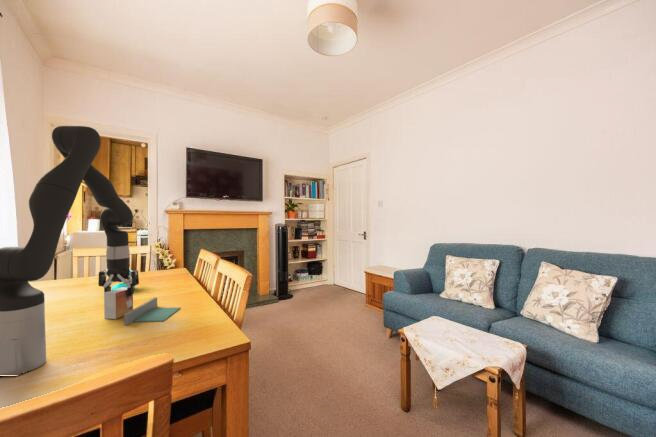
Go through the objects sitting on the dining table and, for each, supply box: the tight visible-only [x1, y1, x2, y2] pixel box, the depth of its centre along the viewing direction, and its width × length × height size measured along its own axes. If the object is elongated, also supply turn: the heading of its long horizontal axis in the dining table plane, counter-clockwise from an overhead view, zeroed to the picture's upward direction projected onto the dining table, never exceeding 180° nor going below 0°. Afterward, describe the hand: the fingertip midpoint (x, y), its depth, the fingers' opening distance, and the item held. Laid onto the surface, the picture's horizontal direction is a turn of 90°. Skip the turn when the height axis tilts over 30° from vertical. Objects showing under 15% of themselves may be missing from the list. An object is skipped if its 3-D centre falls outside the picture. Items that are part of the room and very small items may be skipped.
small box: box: [103, 287, 134, 320], centre depth 113 cm, size 8×6×10 cm
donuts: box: [111, 269, 136, 291], centre depth 147 cm, size 10×10×10 cm
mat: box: [133, 307, 181, 323], centre depth 114 cm, size 14×11×1 cm
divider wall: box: [123, 297, 158, 326], centre depth 114 cm, size 20×1×4 cm, turn 3°
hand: (119, 296), depth 113 cm, fingers open, 8 cm apart
